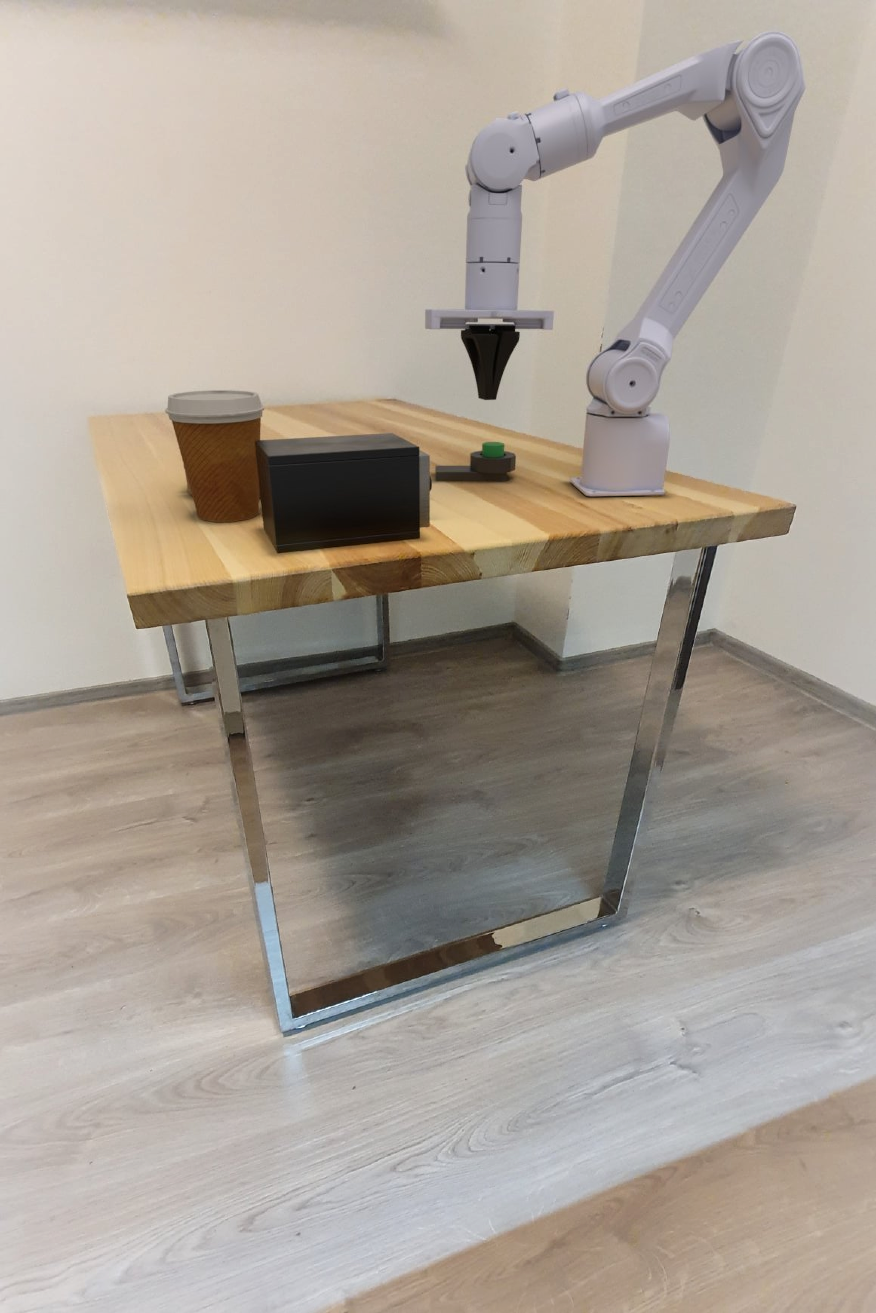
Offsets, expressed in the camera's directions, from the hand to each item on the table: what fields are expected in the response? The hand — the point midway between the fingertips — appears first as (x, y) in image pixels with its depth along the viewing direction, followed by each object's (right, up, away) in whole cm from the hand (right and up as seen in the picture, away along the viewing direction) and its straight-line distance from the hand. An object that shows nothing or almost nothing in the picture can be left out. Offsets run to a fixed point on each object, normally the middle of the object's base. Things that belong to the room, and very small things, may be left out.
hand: (487, 399), depth 83 cm
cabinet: (-15, -18, -12) cm, 26 cm away
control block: (-1, -6, +10) cm, 12 cm away
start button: (+1, -4, +9) cm, 10 cm away
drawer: (-13, -16, -12) cm, 24 cm away
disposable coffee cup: (-28, -15, -6) cm, 32 cm away
